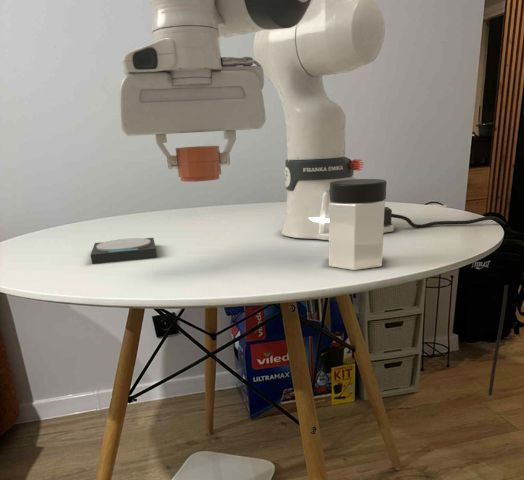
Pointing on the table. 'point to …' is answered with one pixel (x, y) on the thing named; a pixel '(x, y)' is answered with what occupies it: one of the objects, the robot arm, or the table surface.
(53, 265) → the table surface
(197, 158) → the cup
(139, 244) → the scale
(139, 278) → the table surface
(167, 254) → the table surface
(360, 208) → the jar
